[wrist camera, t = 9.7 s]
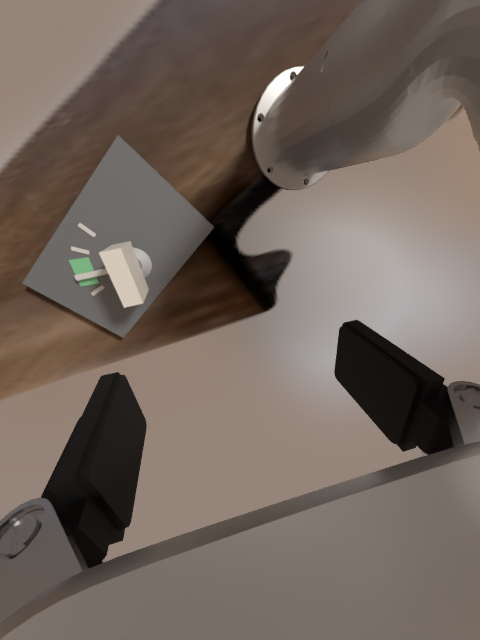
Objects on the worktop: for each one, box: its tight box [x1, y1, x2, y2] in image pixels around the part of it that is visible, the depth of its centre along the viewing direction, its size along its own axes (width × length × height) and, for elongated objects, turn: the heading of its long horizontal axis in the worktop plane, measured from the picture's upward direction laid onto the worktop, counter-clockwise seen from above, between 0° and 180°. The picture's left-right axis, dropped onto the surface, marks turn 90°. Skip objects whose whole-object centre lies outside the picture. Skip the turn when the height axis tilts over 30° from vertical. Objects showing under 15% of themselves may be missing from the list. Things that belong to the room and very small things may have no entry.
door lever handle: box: [74, 241, 149, 308], centre depth 28 cm, size 6×9×7 cm
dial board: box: [22, 135, 214, 338], centre depth 31 cm, size 22×14×2 cm, turn 136°
